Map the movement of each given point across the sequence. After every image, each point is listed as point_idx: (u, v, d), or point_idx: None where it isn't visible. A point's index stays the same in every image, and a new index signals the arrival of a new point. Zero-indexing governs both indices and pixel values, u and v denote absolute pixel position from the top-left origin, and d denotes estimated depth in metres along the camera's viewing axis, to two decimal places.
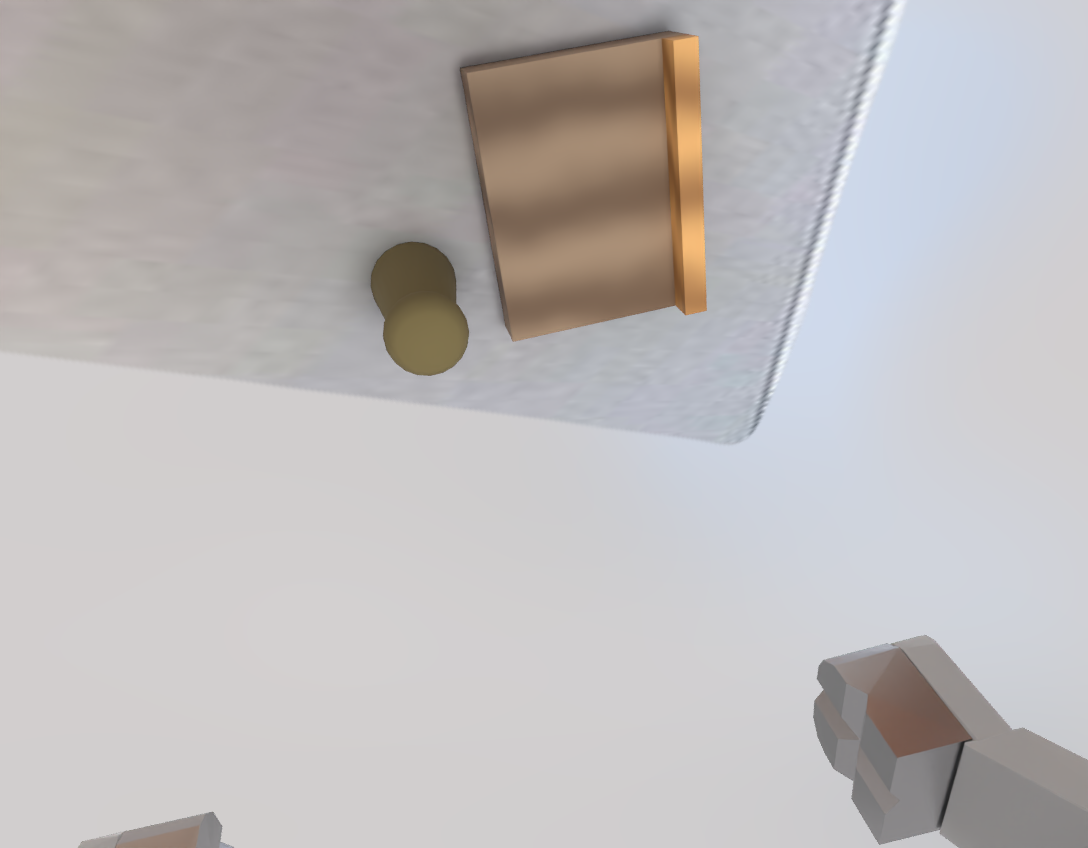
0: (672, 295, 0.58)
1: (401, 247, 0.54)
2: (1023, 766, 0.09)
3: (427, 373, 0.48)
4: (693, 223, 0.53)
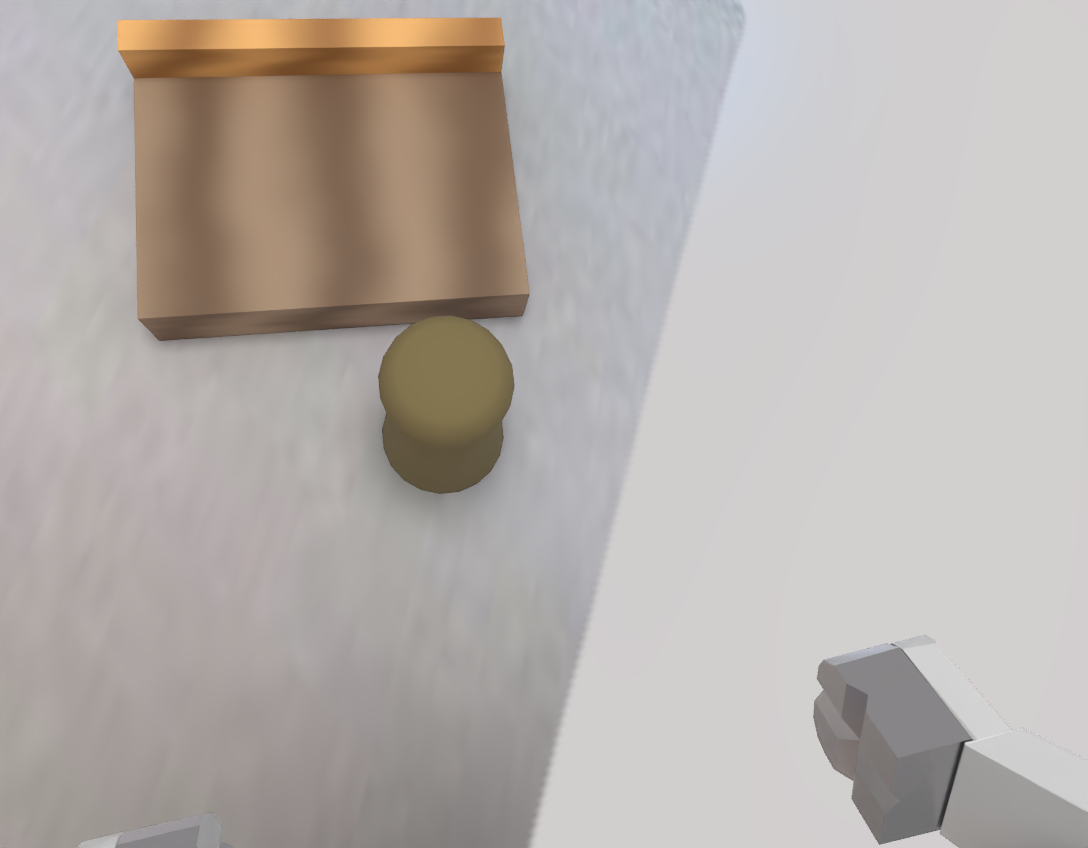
0: (485, 74, 0.41)
1: (384, 442, 0.38)
2: (1023, 766, 0.09)
3: (501, 380, 0.29)
4: (368, 32, 0.38)
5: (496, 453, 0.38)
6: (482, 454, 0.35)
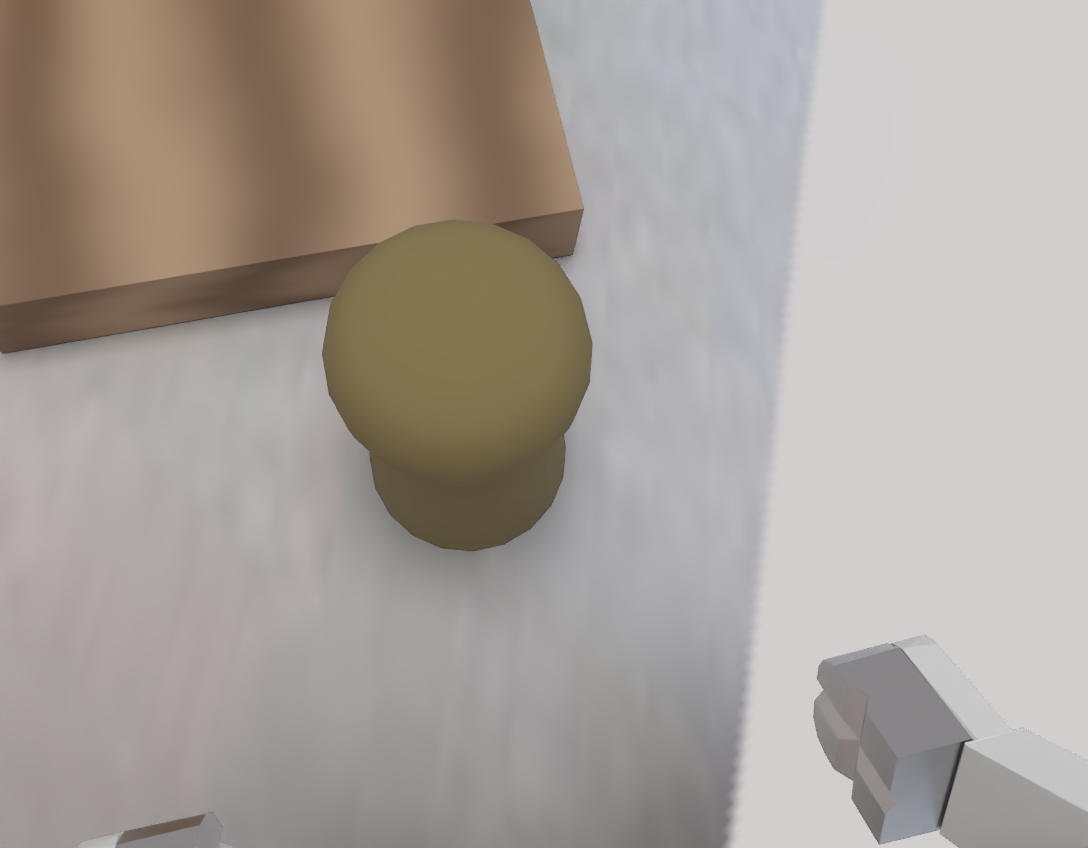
0: None
1: None
2: (1023, 766, 0.09)
3: (570, 333, 0.14)
4: None
5: (558, 476, 0.23)
6: (538, 482, 0.20)
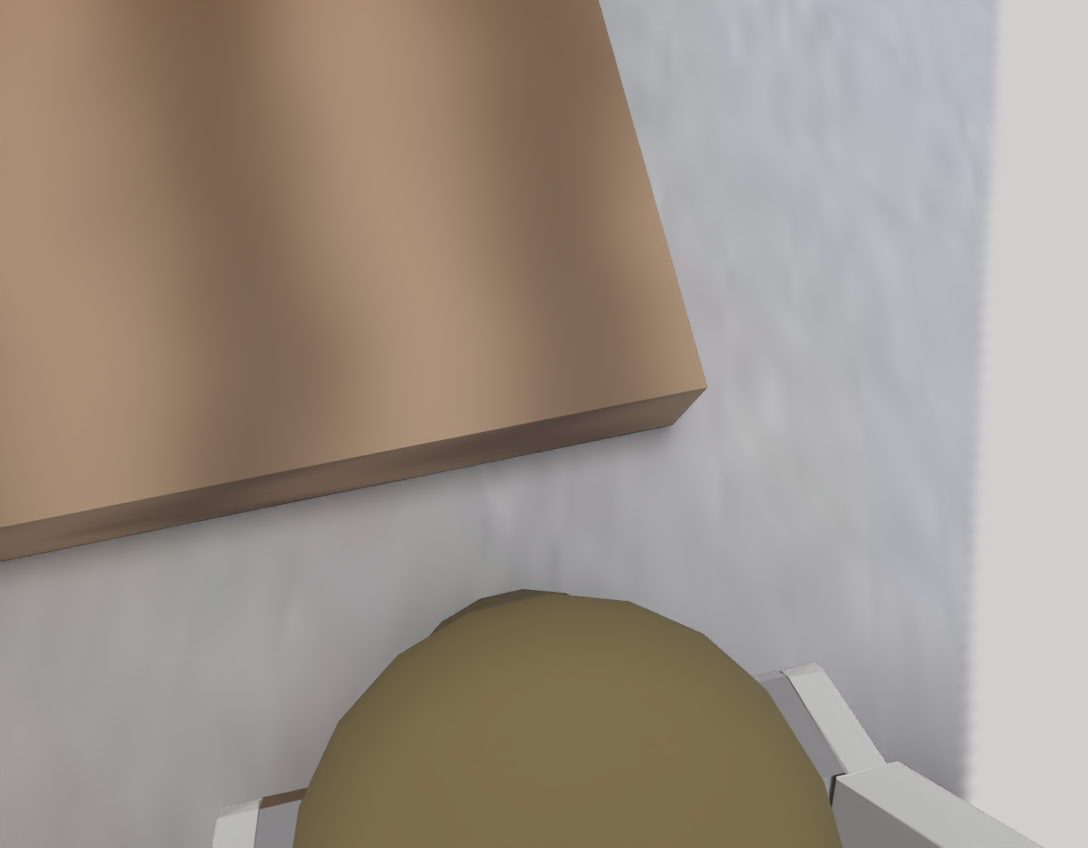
0: None
1: None
2: (891, 802, 0.09)
3: None
4: None
5: None
6: None
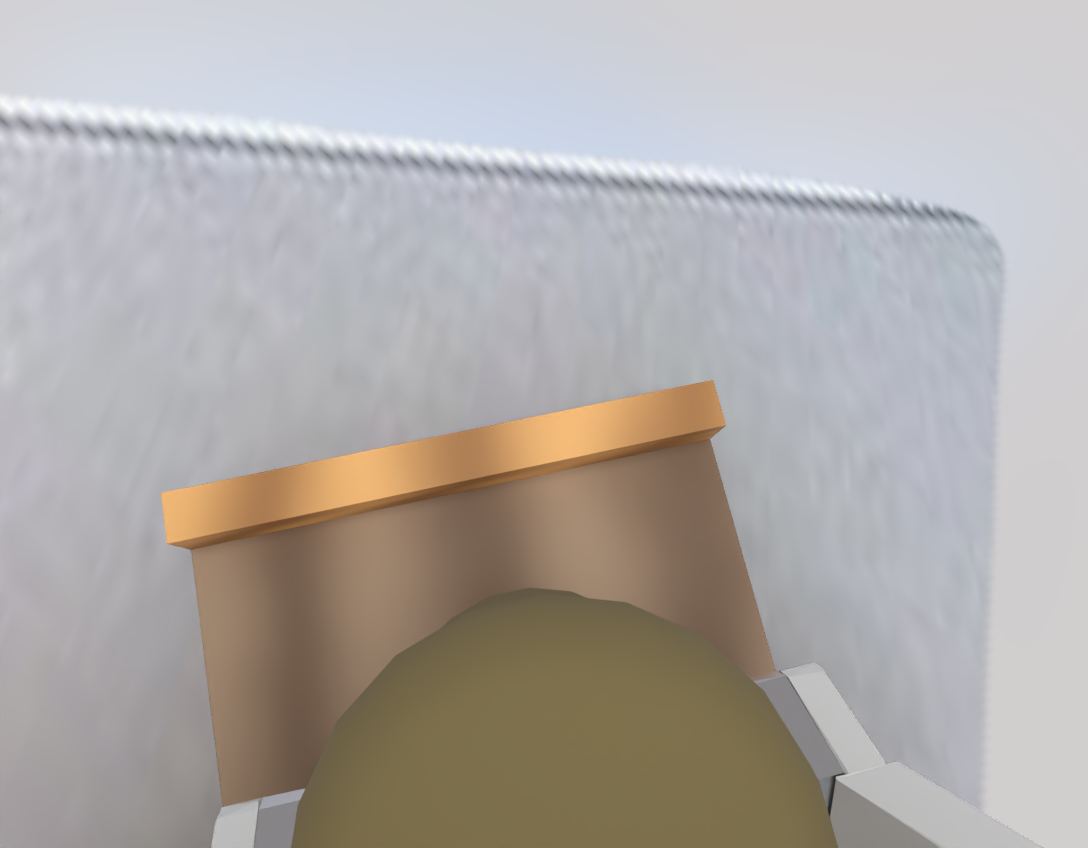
0: (688, 448, 0.28)
1: None
2: (891, 802, 0.09)
3: None
4: (526, 441, 0.26)
5: None
6: None
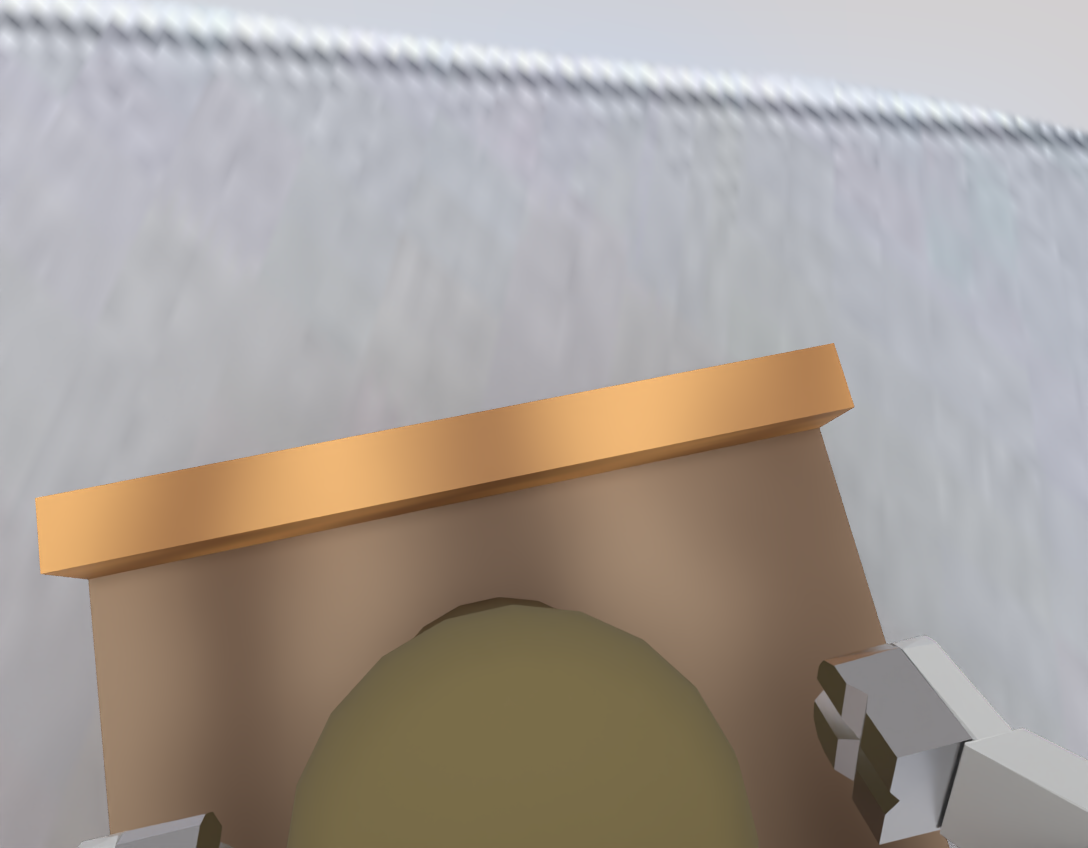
0: (790, 440, 0.20)
1: None
2: (1023, 766, 0.09)
3: None
4: (572, 428, 0.18)
5: None
6: None
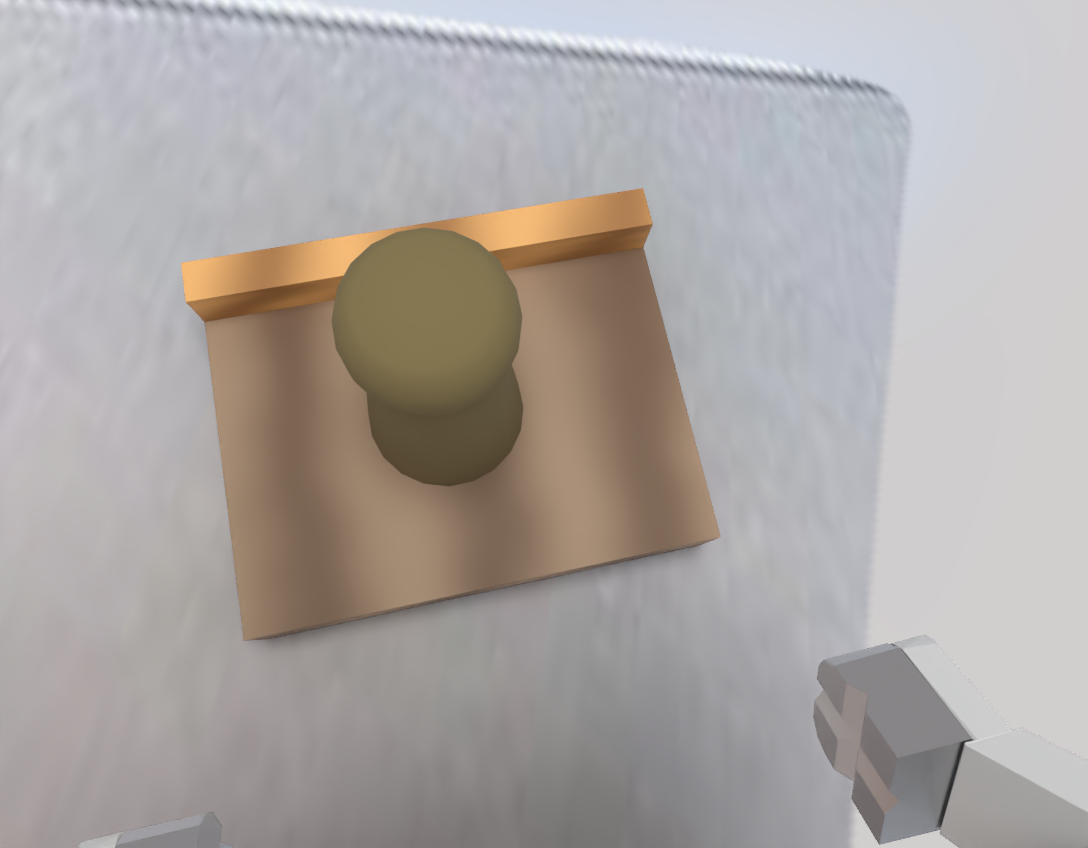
0: (624, 254, 0.33)
1: None
2: (1023, 766, 0.09)
3: (502, 306, 0.21)
4: (485, 232, 0.31)
5: (515, 427, 0.30)
6: (494, 426, 0.27)
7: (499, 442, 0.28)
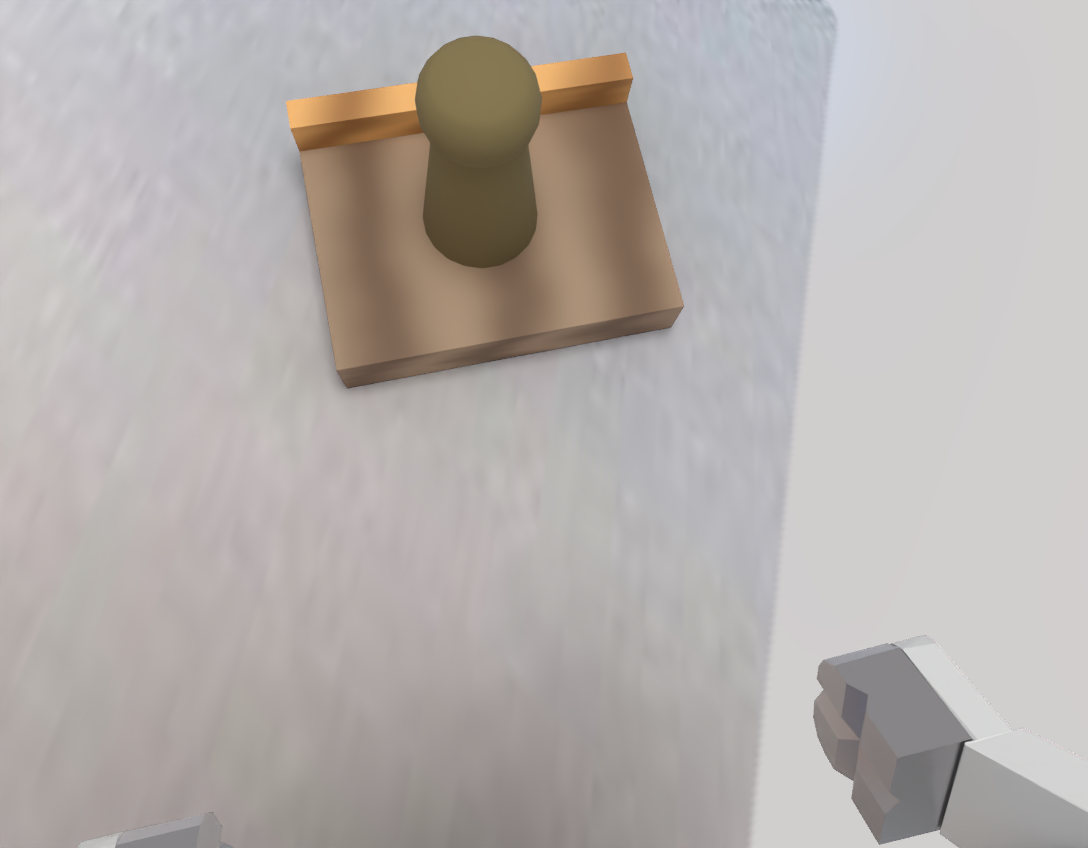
0: (612, 107, 0.44)
1: (425, 224, 0.41)
2: (1023, 766, 0.09)
3: (529, 84, 0.31)
4: None
5: (532, 221, 0.40)
6: (519, 205, 0.37)
7: (521, 227, 0.39)
